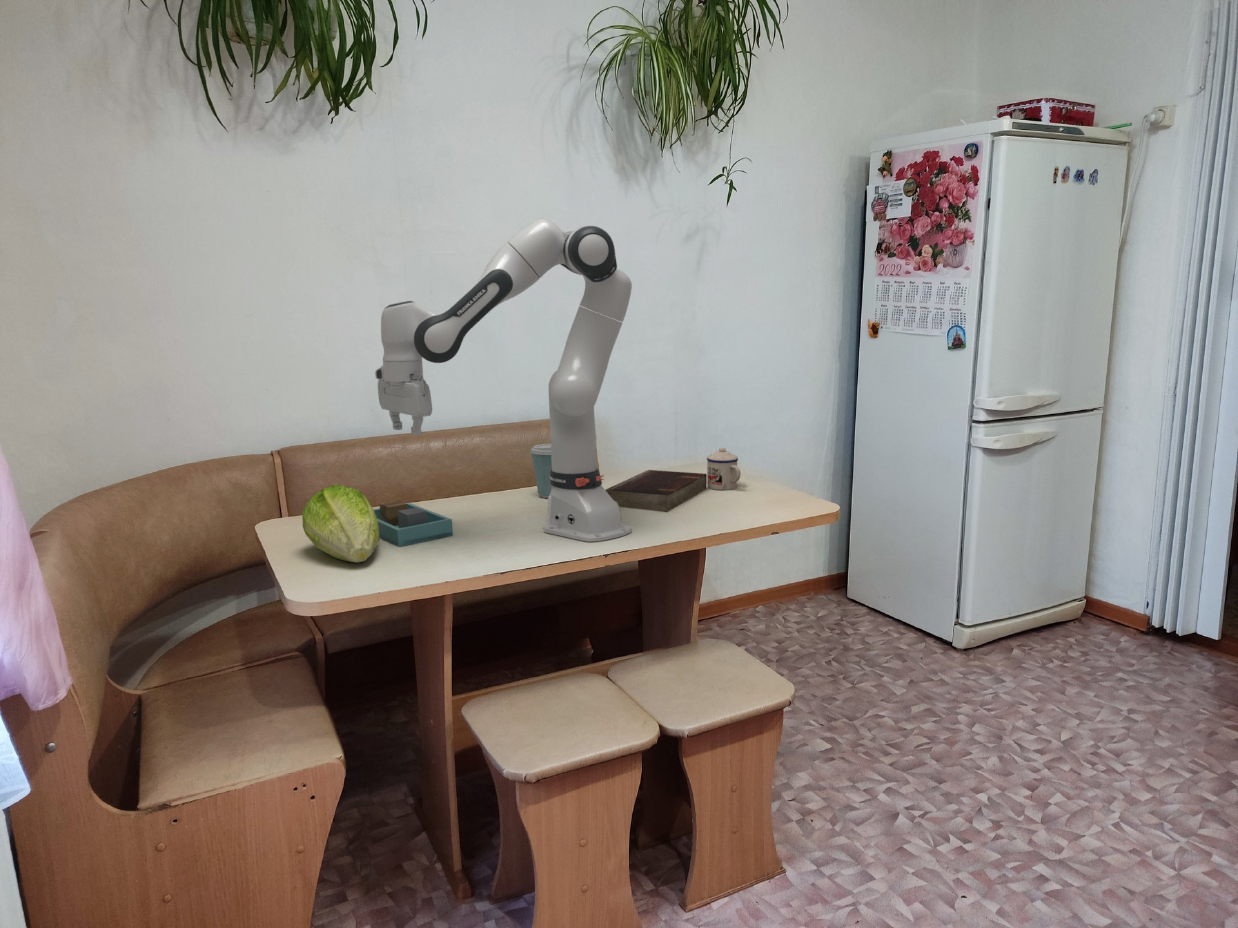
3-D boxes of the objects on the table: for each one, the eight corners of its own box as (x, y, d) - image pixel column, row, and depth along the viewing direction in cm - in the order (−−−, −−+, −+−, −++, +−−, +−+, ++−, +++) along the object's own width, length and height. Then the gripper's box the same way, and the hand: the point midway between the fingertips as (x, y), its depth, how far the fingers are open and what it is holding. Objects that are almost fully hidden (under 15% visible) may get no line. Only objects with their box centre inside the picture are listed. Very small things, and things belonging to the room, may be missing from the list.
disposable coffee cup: (525, 498, 244) (523, 445, 241) (542, 490, 253) (541, 439, 250) (559, 501, 240) (558, 448, 237) (575, 493, 250) (574, 441, 247)
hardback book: (647, 484, 261) (647, 468, 260) (706, 490, 253) (706, 473, 252) (603, 506, 235) (602, 488, 234) (666, 513, 227) (666, 495, 226)
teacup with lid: (700, 486, 256) (700, 447, 253) (723, 482, 261) (724, 444, 258) (727, 494, 246) (727, 453, 244) (751, 489, 251) (751, 450, 249)
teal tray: (452, 535, 208) (451, 519, 207) (398, 546, 199) (397, 530, 198) (410, 517, 225) (409, 502, 224) (358, 527, 216) (357, 512, 215)
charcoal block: (427, 531, 208) (426, 511, 207) (408, 535, 205) (407, 514, 204) (418, 527, 212) (416, 507, 211) (399, 531, 209) (397, 510, 208)
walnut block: (408, 523, 215) (407, 503, 214) (389, 527, 212) (388, 507, 211) (399, 519, 219) (398, 500, 218) (380, 523, 216) (379, 503, 215)
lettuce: (398, 580, 191) (324, 600, 185) (370, 519, 209) (302, 536, 203) (391, 526, 183) (314, 546, 177) (362, 468, 201) (291, 484, 195)
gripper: (437, 375, 195) (440, 435, 198) (396, 369, 210) (399, 425, 213) (411, 377, 191) (415, 439, 194) (371, 371, 206) (375, 428, 209)
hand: (406, 432), depth 204 cm, fingers open, 8 cm apart
